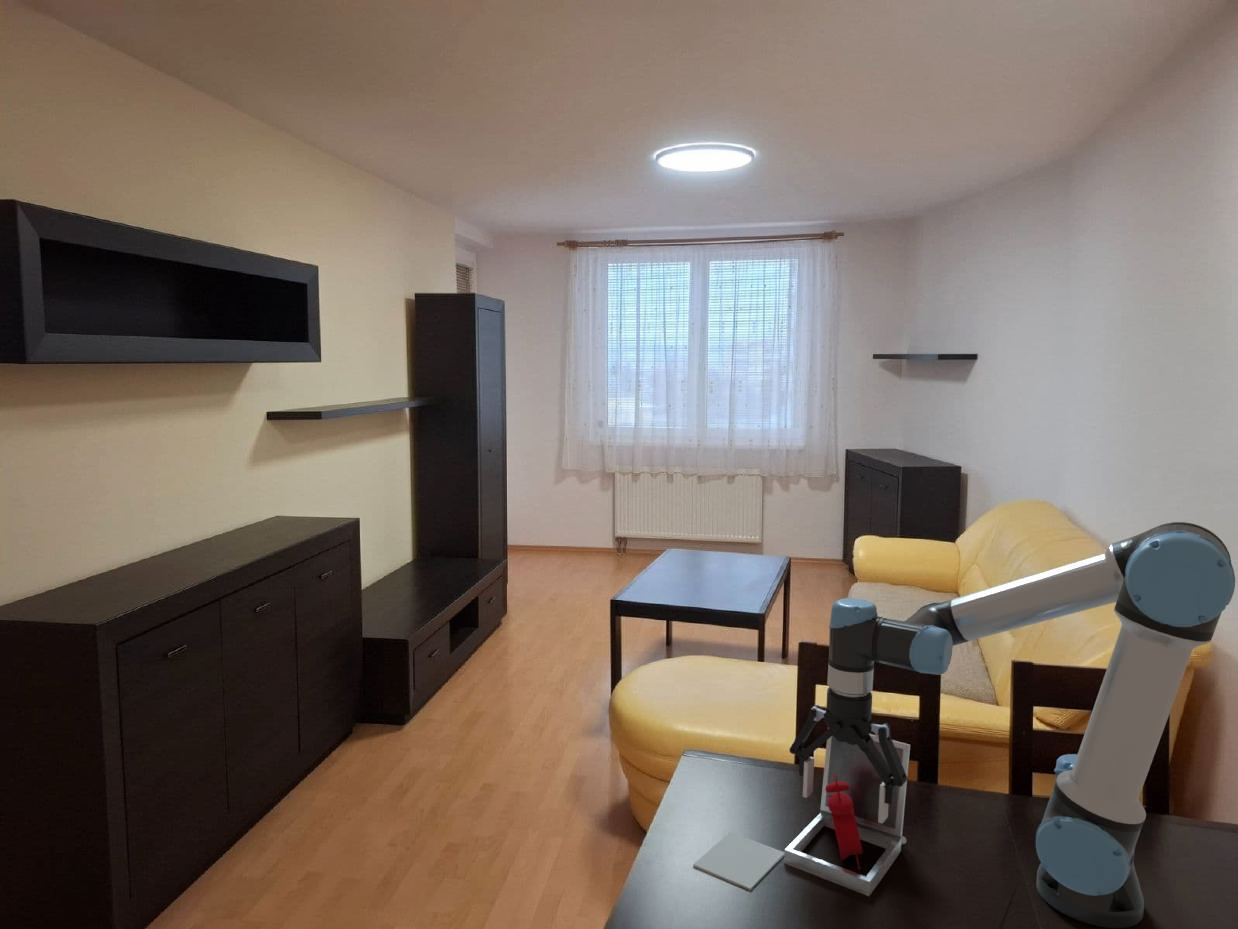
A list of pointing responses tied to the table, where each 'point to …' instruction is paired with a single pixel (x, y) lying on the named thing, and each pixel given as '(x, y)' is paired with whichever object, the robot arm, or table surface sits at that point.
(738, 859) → the mat
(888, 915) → the table surface
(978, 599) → the robot arm
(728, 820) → the table surface
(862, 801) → the lid
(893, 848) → the case
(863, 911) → the table surface
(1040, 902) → the table surface
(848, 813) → the alarm clock
